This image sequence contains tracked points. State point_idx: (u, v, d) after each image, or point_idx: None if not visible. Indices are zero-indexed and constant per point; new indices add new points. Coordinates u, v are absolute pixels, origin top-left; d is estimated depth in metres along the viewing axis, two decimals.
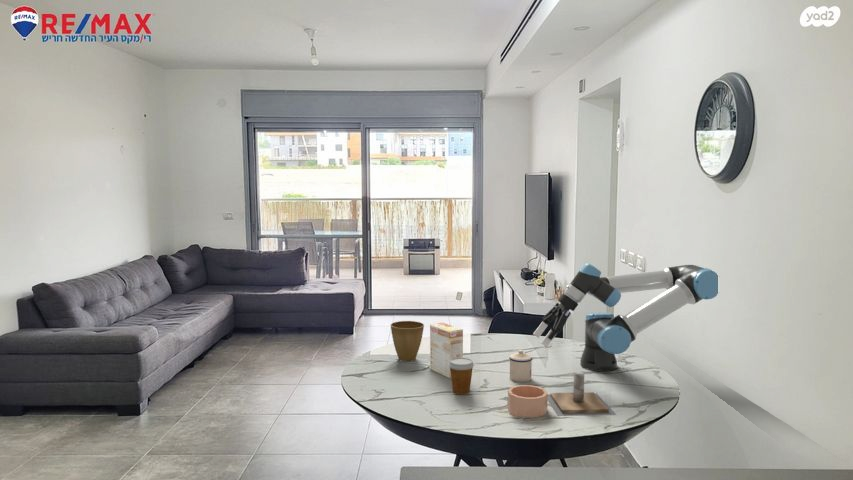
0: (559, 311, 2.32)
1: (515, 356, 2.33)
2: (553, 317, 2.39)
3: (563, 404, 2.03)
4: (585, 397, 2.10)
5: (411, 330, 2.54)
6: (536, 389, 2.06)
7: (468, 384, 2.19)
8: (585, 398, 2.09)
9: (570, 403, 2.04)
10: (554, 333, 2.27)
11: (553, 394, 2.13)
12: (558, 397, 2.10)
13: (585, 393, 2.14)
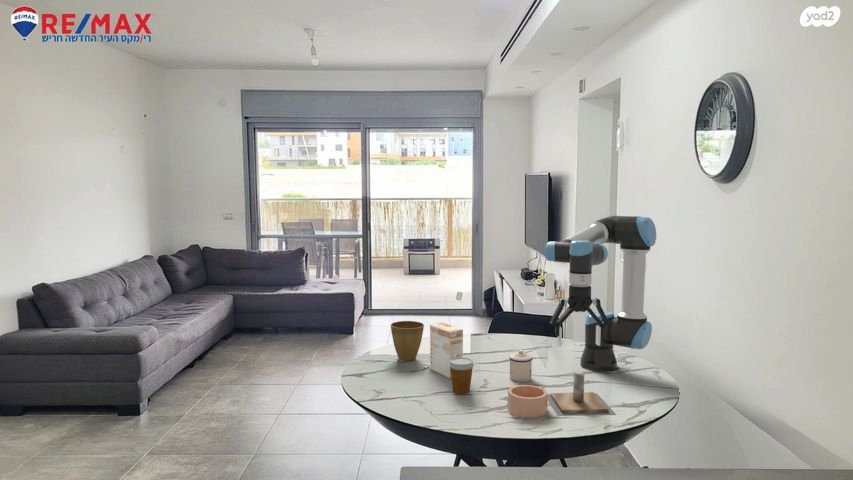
0: (588, 305, 2.02)
1: (515, 356, 2.33)
2: None
3: (563, 404, 2.03)
4: (585, 397, 2.10)
5: (411, 330, 2.54)
6: (536, 389, 2.06)
7: (468, 384, 2.19)
8: (585, 398, 2.09)
9: (570, 403, 2.04)
10: None
11: (553, 394, 2.13)
12: (558, 397, 2.10)
13: (585, 393, 2.14)
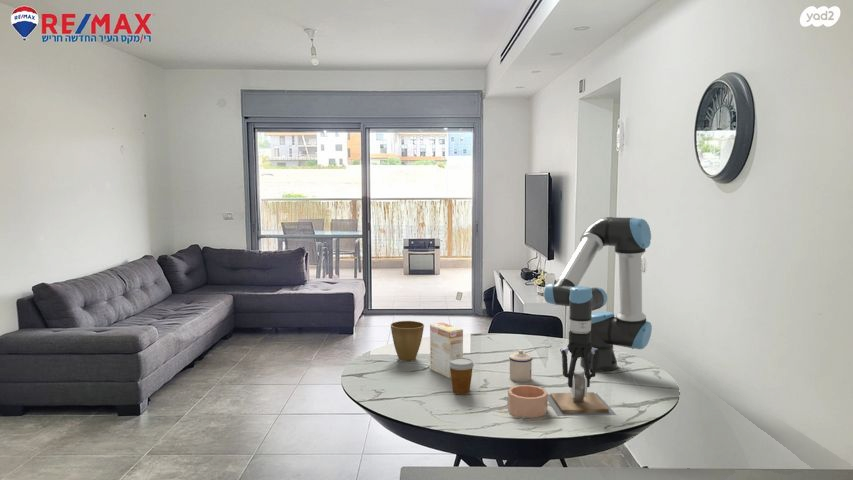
0: (586, 353, 2.04)
1: (515, 356, 2.33)
2: None
3: (563, 404, 2.03)
4: (585, 397, 2.10)
5: (411, 330, 2.54)
6: (536, 389, 2.06)
7: (468, 384, 2.19)
8: (585, 398, 2.09)
9: (570, 403, 2.04)
10: None
11: (553, 394, 2.13)
12: (558, 397, 2.10)
13: None
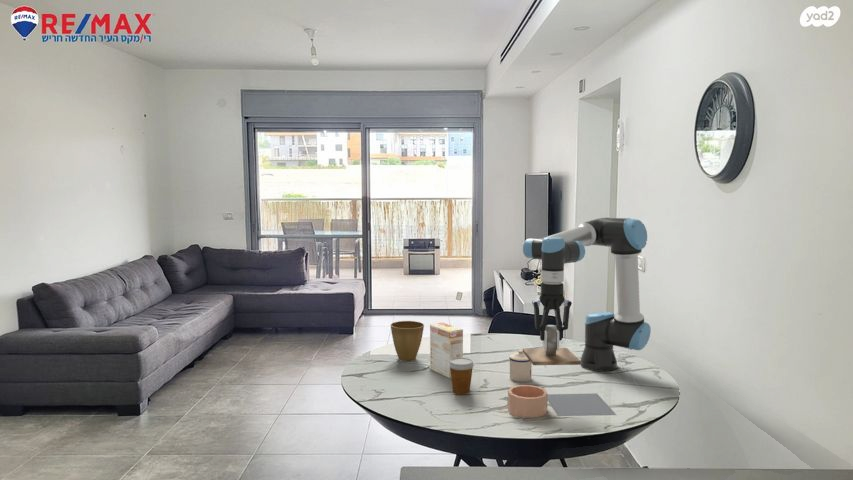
0: (559, 305, 1.99)
1: (515, 356, 2.33)
2: None
3: (535, 357, 1.99)
4: (558, 351, 2.05)
5: (411, 330, 2.54)
6: (536, 389, 2.06)
7: (468, 384, 2.19)
8: (558, 352, 2.04)
9: (542, 356, 1.99)
10: None
11: (525, 349, 2.08)
12: (530, 351, 2.05)
13: None
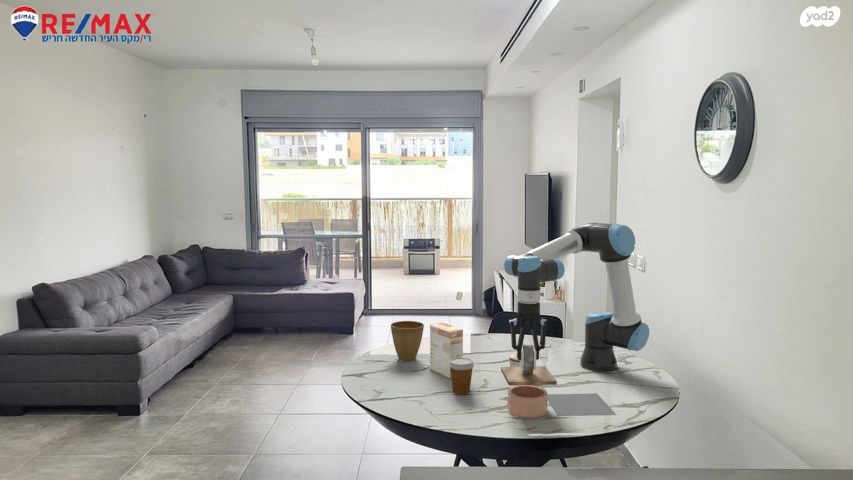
0: (535, 324, 1.98)
1: (515, 356, 2.33)
2: None
3: (511, 377, 1.97)
4: (535, 370, 2.04)
5: (411, 330, 2.54)
6: (536, 389, 2.06)
7: (468, 384, 2.19)
8: (535, 371, 2.03)
9: (518, 376, 1.98)
10: None
11: (503, 368, 2.07)
12: (508, 370, 2.04)
13: (536, 367, 2.08)
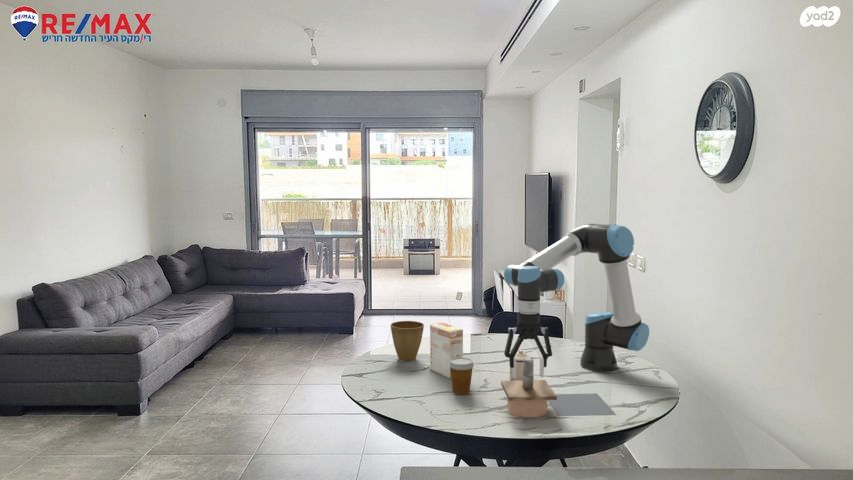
0: (536, 334, 1.98)
1: (515, 356, 2.33)
2: None
3: (511, 391, 1.98)
4: (535, 385, 2.05)
5: (411, 330, 2.54)
6: None
7: (468, 384, 2.19)
8: (535, 386, 2.04)
9: (519, 390, 1.99)
10: None
11: (503, 382, 2.08)
12: (508, 385, 2.05)
13: (536, 381, 2.09)
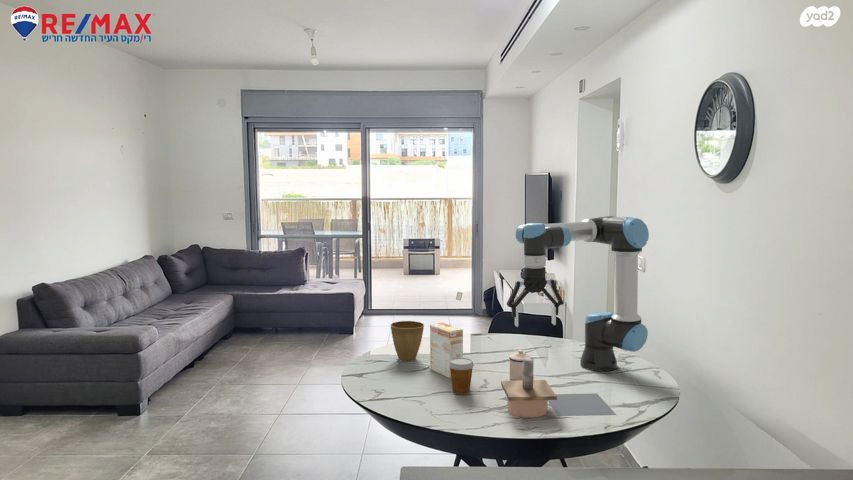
0: (543, 286, 2.08)
1: (515, 356, 2.33)
2: None
3: (511, 391, 1.98)
4: (535, 385, 2.05)
5: (411, 330, 2.54)
6: None
7: (468, 384, 2.19)
8: (535, 386, 2.04)
9: (519, 390, 1.99)
10: None
11: (503, 382, 2.08)
12: (508, 385, 2.05)
13: (536, 381, 2.09)
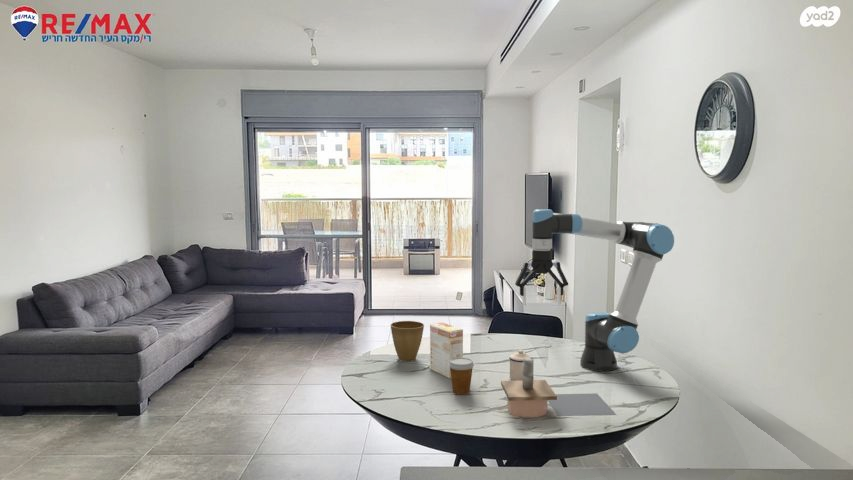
0: (549, 268, 2.25)
1: (515, 356, 2.33)
2: None
3: (511, 391, 1.98)
4: (535, 385, 2.05)
5: (411, 330, 2.54)
6: None
7: (468, 384, 2.19)
8: (535, 386, 2.04)
9: (519, 390, 1.99)
10: None
11: (503, 382, 2.08)
12: (508, 385, 2.05)
13: (536, 381, 2.09)
